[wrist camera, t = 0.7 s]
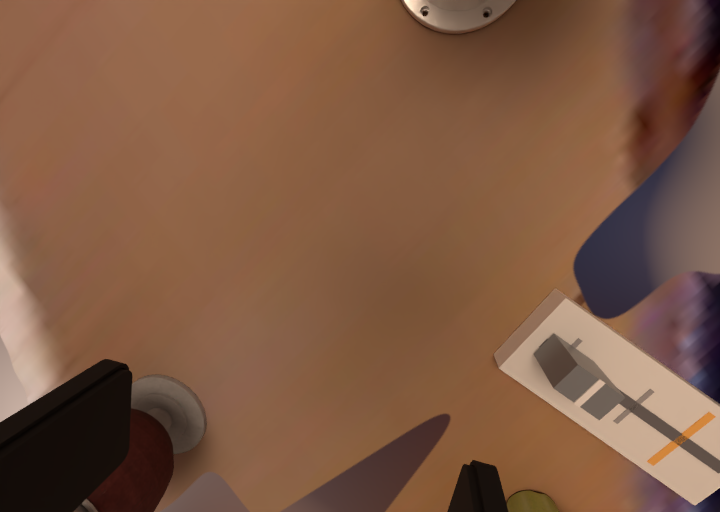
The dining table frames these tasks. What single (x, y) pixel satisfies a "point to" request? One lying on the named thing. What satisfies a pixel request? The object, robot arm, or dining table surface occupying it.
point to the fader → (577, 377)
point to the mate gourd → (151, 445)
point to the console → (642, 397)
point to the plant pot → (531, 502)
